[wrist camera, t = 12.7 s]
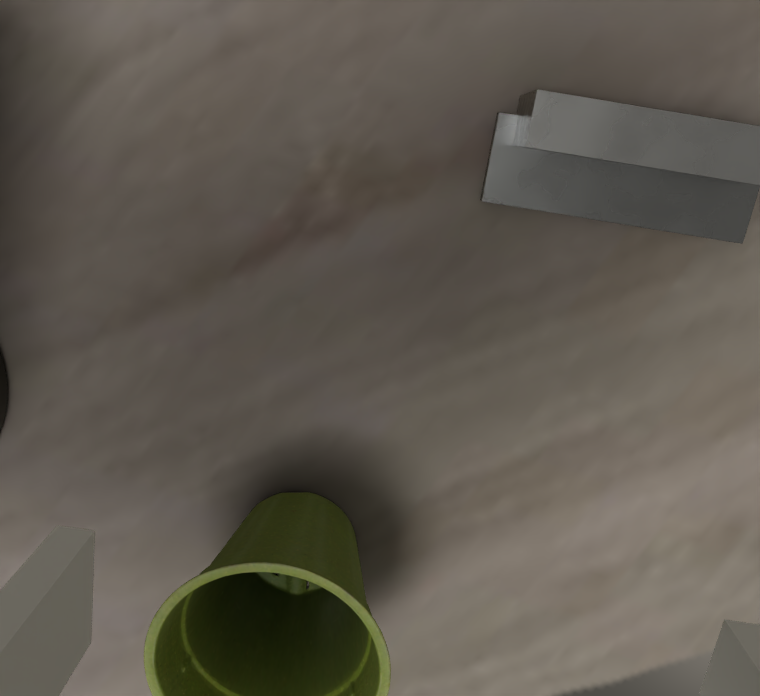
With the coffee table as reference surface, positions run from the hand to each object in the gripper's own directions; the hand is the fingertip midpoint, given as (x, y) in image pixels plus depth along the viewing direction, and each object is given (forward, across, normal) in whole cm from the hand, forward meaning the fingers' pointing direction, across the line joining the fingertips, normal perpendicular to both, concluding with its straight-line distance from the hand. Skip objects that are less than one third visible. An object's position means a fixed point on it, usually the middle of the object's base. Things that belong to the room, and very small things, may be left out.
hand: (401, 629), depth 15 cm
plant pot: (+27, -4, -15) cm, 31 cm away
